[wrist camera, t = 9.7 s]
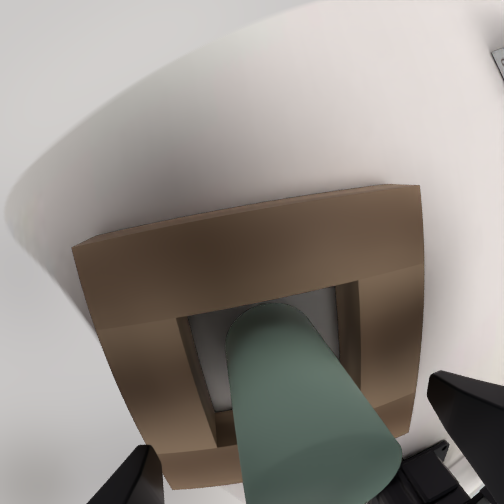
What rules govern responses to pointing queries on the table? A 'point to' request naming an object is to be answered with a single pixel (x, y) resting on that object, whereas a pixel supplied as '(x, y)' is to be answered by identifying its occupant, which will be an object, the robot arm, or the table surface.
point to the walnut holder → (253, 291)
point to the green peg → (302, 416)
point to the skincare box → (499, 59)
